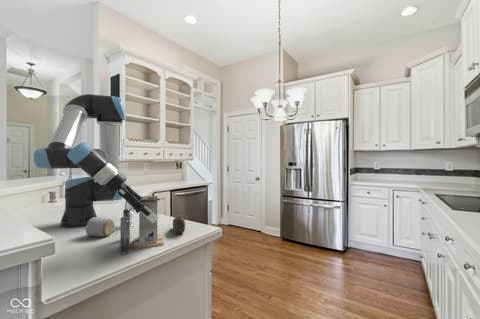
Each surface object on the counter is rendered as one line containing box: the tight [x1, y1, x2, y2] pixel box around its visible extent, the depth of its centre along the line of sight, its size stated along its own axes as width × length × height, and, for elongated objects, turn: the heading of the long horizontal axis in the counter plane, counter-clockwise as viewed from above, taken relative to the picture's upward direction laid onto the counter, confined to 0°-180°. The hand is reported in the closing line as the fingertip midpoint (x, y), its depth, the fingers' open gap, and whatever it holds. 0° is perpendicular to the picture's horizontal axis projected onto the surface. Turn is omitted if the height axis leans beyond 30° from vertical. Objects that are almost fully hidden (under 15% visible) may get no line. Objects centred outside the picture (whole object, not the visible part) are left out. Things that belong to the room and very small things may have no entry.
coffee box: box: [138, 196, 159, 244], centre depth 89 cm, size 9×6×16 cm
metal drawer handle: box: [119, 208, 131, 256], centre depth 85 cm, size 17×2×12 cm, turn 24°
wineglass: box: [124, 200, 137, 228], centre depth 112 cm, size 6×6×12 cm
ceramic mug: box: [85, 216, 116, 238], centre depth 98 cm, size 11×8×8 cm
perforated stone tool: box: [172, 215, 186, 234], centre depth 104 cm, size 15×5×7 cm, turn 15°
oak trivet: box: [133, 234, 165, 250], centre depth 89 cm, size 10×10×1 cm
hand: (154, 216), depth 90 cm, fingers open, 13 cm apart
